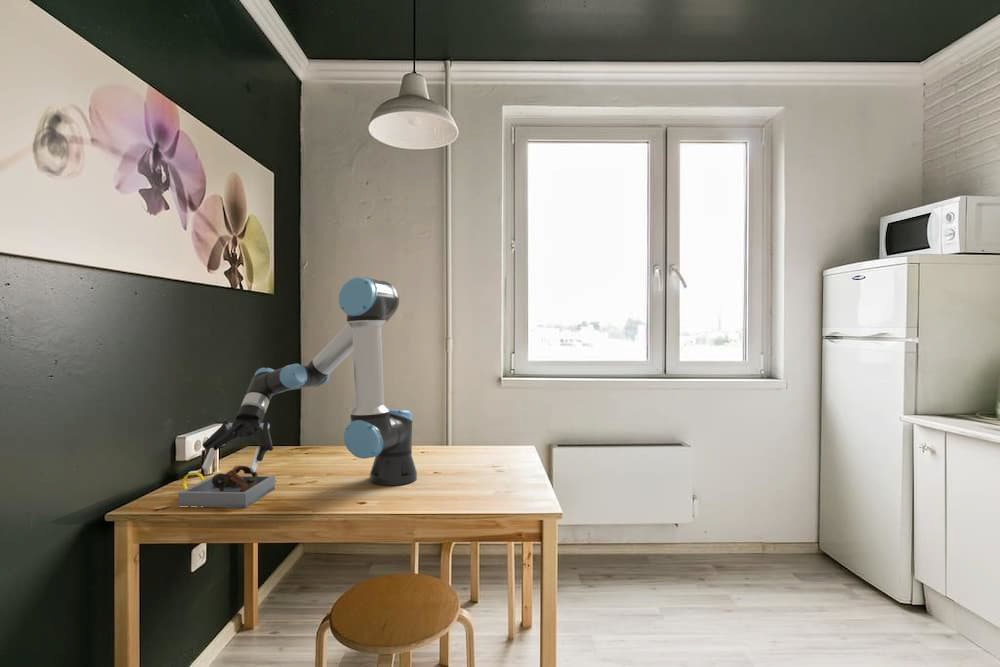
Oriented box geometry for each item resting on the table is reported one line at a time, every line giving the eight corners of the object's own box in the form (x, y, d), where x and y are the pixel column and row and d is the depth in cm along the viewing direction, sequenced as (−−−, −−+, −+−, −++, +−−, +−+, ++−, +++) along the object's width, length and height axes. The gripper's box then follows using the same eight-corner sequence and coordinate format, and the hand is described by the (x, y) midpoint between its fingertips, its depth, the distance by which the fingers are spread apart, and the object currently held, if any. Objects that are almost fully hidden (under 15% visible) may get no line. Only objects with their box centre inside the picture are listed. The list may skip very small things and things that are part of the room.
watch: (181, 493, 160) (180, 473, 160) (186, 491, 163) (185, 471, 163) (202, 492, 161) (200, 472, 161) (206, 489, 163) (205, 469, 163)
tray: (274, 489, 165) (274, 475, 165) (245, 508, 146) (245, 493, 146) (215, 488, 165) (215, 475, 165) (178, 507, 146) (178, 492, 146)
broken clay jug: (243, 486, 166) (255, 463, 165) (252, 506, 159) (264, 483, 158) (202, 483, 157) (215, 460, 156) (210, 505, 150) (223, 480, 149)
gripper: (295, 417, 173) (275, 476, 158) (217, 417, 173) (190, 476, 158) (288, 403, 168) (267, 463, 152) (208, 403, 168) (179, 462, 153)
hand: (228, 470), depth 155 cm, fingers open, 13 cm apart
